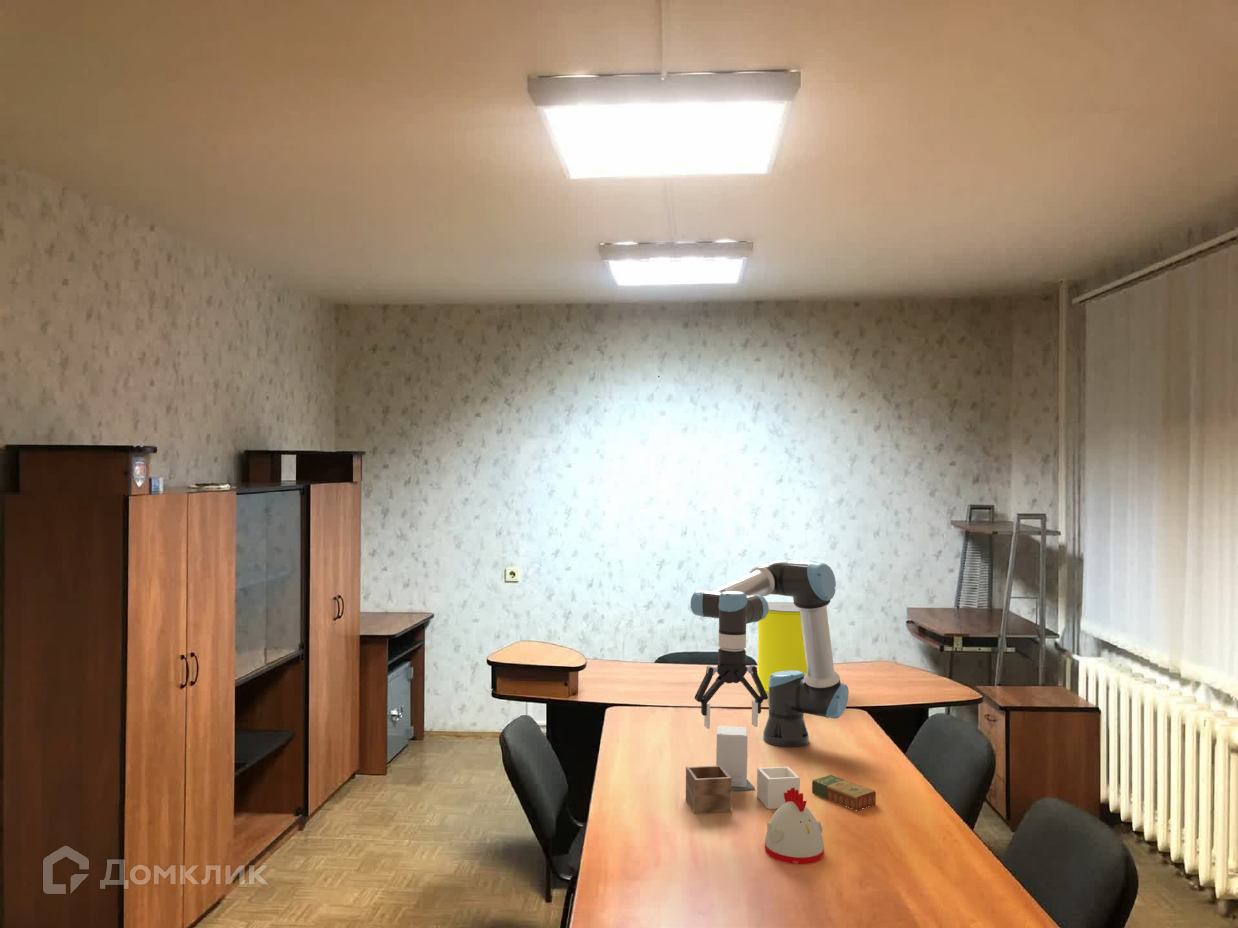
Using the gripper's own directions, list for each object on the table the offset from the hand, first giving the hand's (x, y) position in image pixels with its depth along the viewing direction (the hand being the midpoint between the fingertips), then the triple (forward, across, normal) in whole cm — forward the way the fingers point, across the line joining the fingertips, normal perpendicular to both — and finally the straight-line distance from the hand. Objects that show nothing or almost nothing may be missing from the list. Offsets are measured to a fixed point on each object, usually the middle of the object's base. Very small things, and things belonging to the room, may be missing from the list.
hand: (730, 726), depth 233 cm
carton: (+22, -33, 0) cm, 39 cm away
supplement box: (+21, -6, -15) cm, 26 cm away
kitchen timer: (+22, -6, +30) cm, 37 cm away
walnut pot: (+21, +6, 0) cm, 22 cm away
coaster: (+21, -5, -15) cm, 27 cm away
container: (+20, -63, -117) cm, 135 cm away
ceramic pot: (+21, -14, 0) cm, 25 cm away
